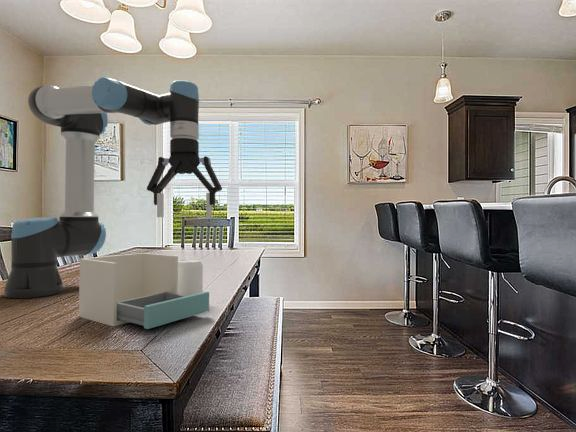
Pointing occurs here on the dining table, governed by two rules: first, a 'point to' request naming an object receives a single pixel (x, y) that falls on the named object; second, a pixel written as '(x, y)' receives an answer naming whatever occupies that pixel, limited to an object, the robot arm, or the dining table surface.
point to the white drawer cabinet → (122, 282)
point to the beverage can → (190, 277)
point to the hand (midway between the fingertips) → (184, 217)
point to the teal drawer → (162, 308)
